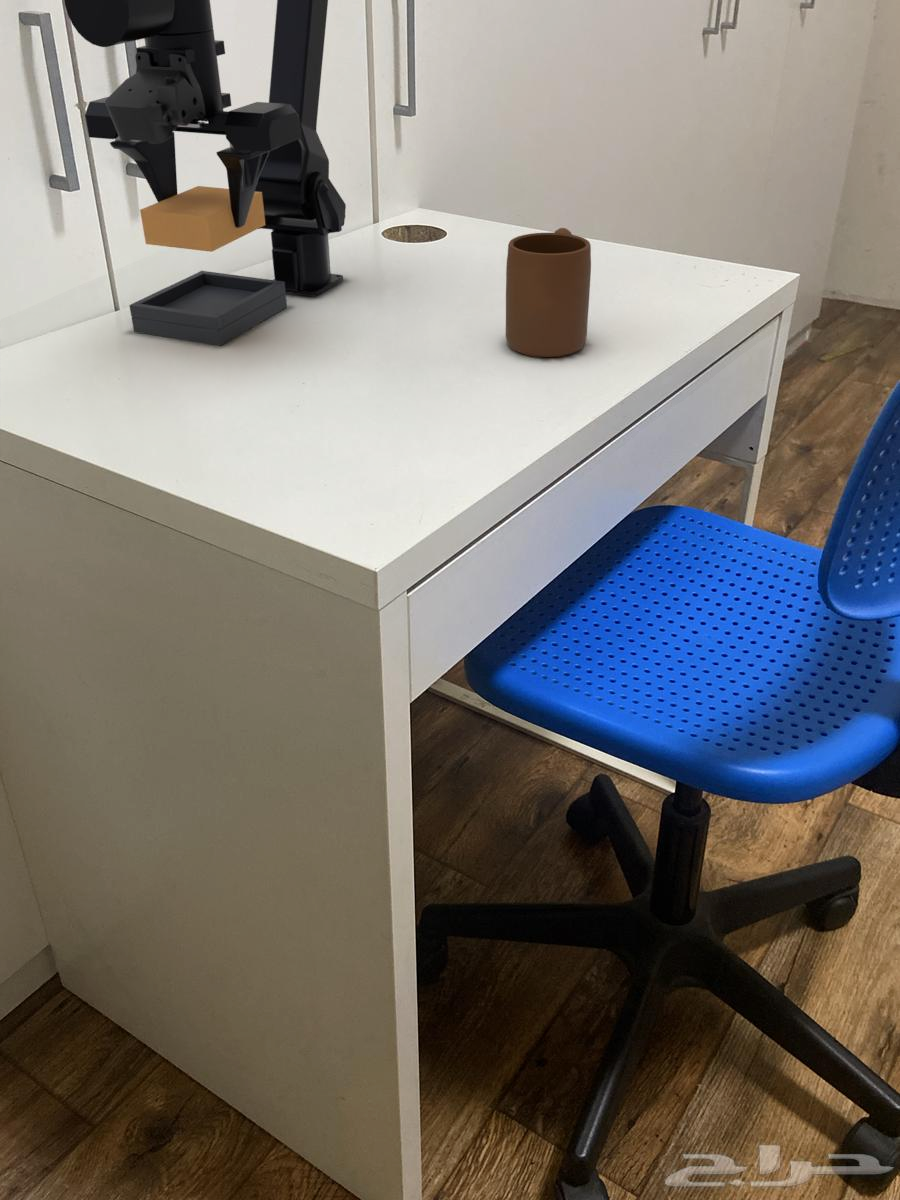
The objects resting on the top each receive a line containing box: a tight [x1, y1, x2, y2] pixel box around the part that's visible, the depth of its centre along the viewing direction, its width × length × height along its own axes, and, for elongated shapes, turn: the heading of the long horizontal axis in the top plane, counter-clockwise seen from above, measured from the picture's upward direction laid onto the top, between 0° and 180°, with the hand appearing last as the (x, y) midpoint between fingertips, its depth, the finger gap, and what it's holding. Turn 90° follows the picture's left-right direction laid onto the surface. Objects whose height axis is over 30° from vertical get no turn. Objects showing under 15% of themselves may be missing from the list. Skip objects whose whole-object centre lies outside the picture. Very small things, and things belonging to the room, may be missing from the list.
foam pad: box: [139, 185, 265, 253], centre depth 99 cm, size 9×7×3 cm
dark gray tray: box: [129, 270, 288, 347], centre depth 109 cm, size 12×10×3 cm
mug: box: [505, 227, 592, 358], centre depth 102 cm, size 12×8×9 cm, turn 164°
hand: (205, 223), depth 99 cm, fingers closed on foam pad, 7 cm apart
